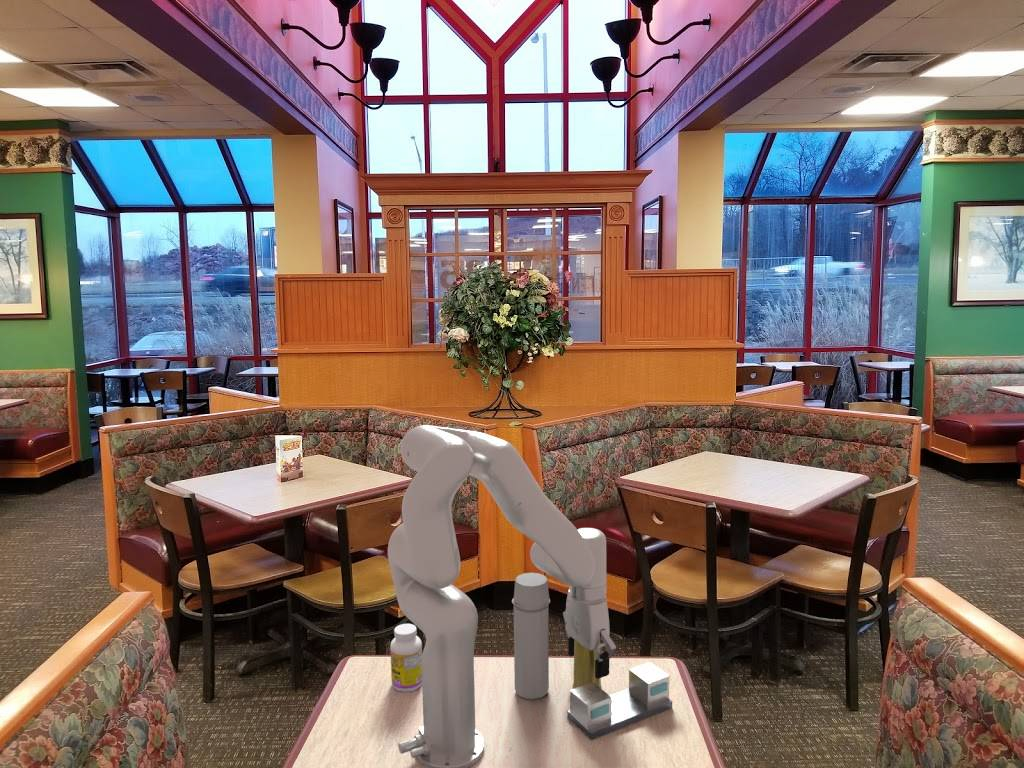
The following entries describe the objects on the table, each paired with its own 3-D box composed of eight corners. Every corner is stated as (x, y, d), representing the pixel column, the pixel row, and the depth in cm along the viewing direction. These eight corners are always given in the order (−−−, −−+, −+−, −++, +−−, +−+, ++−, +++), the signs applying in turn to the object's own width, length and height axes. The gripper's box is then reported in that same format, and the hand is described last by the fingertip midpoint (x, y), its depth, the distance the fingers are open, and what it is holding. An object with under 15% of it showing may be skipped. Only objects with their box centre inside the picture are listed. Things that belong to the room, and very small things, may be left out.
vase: (601, 681, 157) (601, 619, 154) (601, 698, 151) (602, 634, 148) (572, 680, 157) (572, 618, 155) (572, 697, 151) (572, 633, 149)
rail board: (590, 740, 138) (591, 708, 137) (567, 717, 145) (567, 687, 144) (672, 707, 147) (672, 678, 146) (646, 688, 154) (646, 659, 153)
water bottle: (551, 701, 150) (551, 587, 146) (513, 702, 150) (511, 587, 146) (549, 676, 159) (548, 568, 155) (513, 676, 159) (511, 568, 155)
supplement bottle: (388, 680, 158) (385, 625, 156) (417, 672, 161) (415, 618, 159) (396, 696, 152) (394, 639, 150) (427, 688, 155) (425, 632, 153)
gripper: (549, 577, 156) (551, 651, 159) (598, 610, 141) (598, 691, 144) (579, 569, 160) (579, 641, 163) (628, 600, 145) (628, 679, 148)
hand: (588, 665), depth 153 cm, fingers open, 9 cm apart
